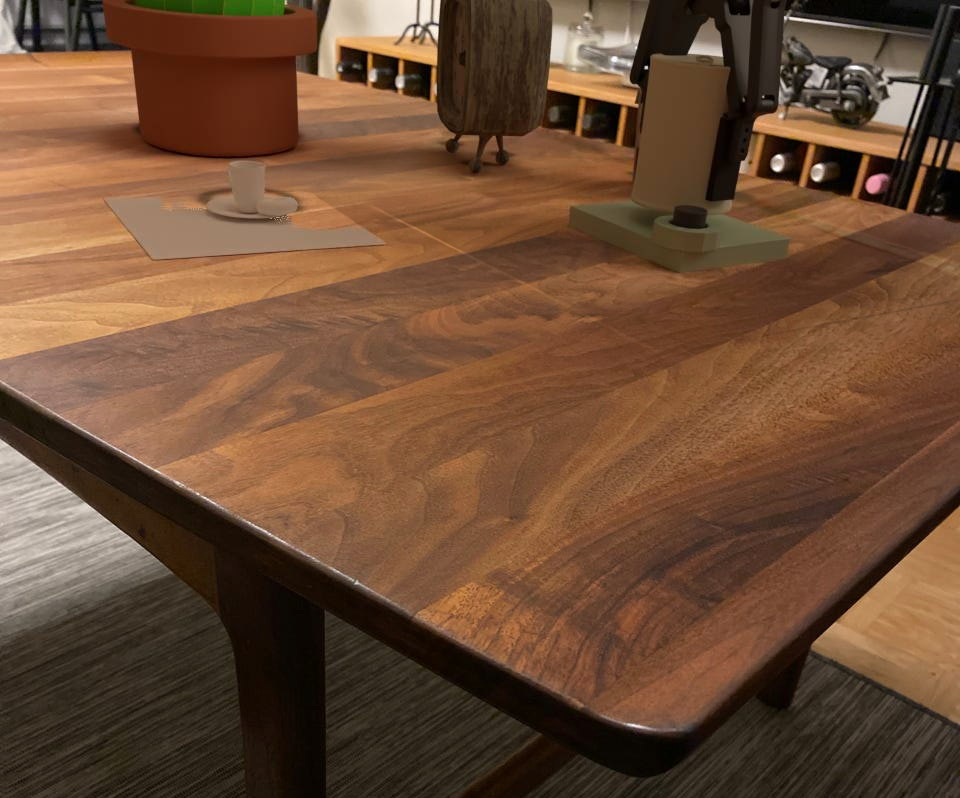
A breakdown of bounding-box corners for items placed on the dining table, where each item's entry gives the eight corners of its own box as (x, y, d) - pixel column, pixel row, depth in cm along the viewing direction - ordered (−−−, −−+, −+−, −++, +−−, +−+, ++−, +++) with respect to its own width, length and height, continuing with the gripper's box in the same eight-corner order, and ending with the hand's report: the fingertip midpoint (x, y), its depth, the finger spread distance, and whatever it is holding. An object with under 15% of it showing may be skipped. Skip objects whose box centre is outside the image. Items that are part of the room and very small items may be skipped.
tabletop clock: (433, 150, 124) (443, -106, 109) (505, 152, 126) (524, -99, 111) (463, 178, 112) (479, -104, 98) (542, 179, 115) (568, -96, 100)
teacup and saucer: (309, 223, 93) (308, 174, 91) (222, 228, 90) (218, 177, 87) (279, 199, 99) (277, 153, 97) (196, 203, 96) (192, 156, 94)
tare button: (711, 230, 88) (714, 211, 87) (686, 233, 87) (690, 214, 86) (689, 222, 90) (692, 203, 89) (664, 225, 89) (667, 206, 88)
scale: (792, 262, 93) (802, 221, 91) (678, 278, 87) (686, 234, 85) (670, 216, 105) (676, 179, 103) (560, 227, 98) (564, 188, 96)
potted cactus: (244, 119, 132) (229, -123, 117) (355, 151, 120) (354, -113, 106) (84, 132, 119) (46, -139, 104) (192, 171, 107) (165, -130, 92)
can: (629, 209, 91) (650, 54, 84) (631, 188, 98) (650, 43, 91) (734, 220, 90) (764, 64, 83) (728, 197, 98) (755, 52, 91)
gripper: (612, -130, 86) (578, 163, 99) (806, -121, 71) (737, 220, 85) (680, -122, 89) (638, 159, 102) (877, -113, 75) (800, 213, 88)
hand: (683, 186), depth 93 cm, fingers closed on can, 9 cm apart
